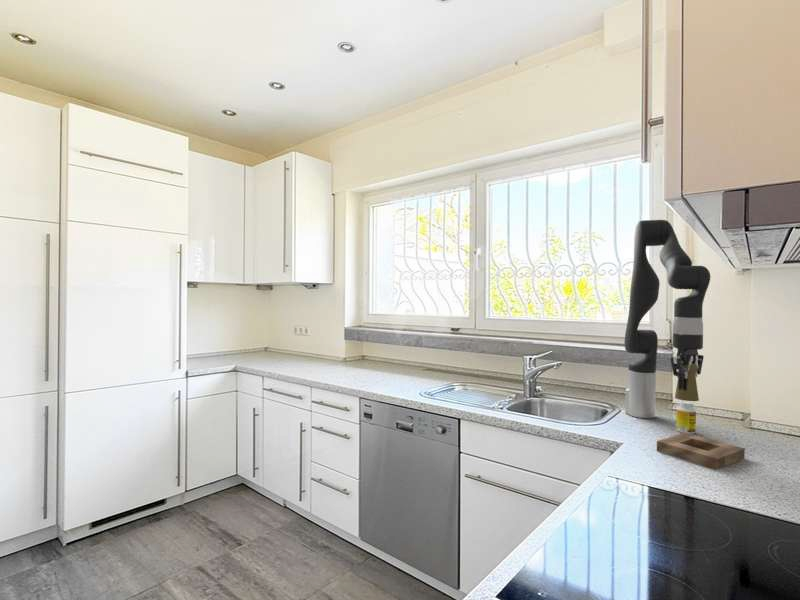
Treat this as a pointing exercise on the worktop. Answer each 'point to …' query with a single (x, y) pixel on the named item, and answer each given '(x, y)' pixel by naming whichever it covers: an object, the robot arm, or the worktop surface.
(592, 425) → the worktop surface
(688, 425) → the supplement bottle
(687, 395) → the olive tapered peg
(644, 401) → the robot arm
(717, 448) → the hole plate
